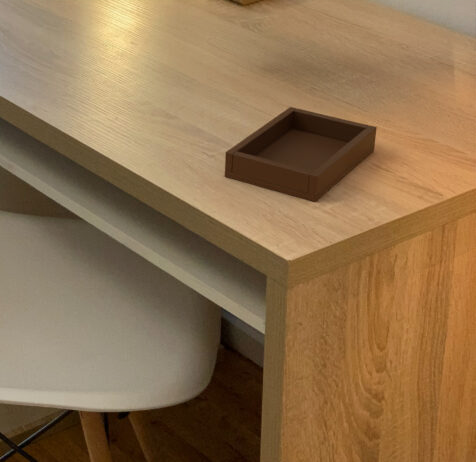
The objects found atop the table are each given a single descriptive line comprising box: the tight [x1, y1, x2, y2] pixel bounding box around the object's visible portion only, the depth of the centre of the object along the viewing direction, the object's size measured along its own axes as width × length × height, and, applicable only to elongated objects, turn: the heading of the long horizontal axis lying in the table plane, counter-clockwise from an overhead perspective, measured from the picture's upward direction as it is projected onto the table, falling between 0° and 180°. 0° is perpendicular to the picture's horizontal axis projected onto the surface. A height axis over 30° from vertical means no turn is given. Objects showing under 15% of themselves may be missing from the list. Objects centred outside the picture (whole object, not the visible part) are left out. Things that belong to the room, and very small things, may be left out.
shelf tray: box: [224, 106, 378, 203], centre depth 105 cm, size 10×14×3 cm
